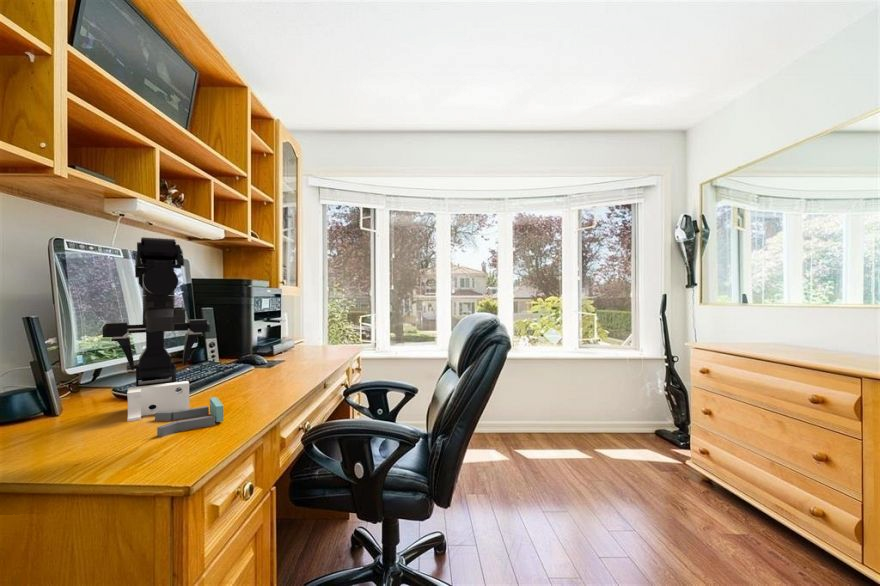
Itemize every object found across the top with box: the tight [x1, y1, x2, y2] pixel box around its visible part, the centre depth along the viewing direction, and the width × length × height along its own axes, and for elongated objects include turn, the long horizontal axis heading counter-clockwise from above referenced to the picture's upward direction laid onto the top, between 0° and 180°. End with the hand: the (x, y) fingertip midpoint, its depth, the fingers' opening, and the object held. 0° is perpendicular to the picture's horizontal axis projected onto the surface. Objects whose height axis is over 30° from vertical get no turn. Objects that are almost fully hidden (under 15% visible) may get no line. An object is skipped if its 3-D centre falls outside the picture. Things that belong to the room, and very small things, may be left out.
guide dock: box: [154, 405, 216, 438], centre depth 96 cm, size 16×11×2 cm
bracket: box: [126, 380, 190, 422], centre depth 104 cm, size 13×7×8 cm
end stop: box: [209, 396, 224, 423], centre depth 100 cm, size 10×2×4 cm, turn 37°
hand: (159, 367), depth 88 cm, fingers open, 9 cm apart
